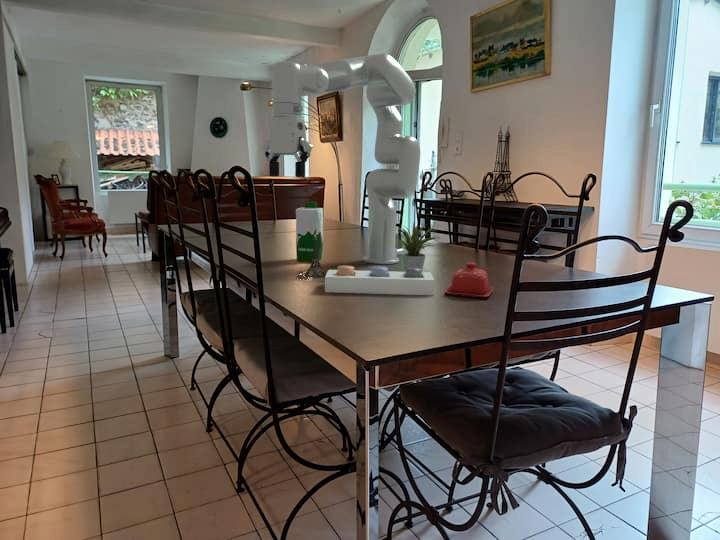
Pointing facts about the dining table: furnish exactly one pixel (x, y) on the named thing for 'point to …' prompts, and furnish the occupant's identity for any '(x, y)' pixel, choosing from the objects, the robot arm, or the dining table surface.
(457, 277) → the butter dish
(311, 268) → the eiffel tower figurine
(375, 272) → the slate blue button
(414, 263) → the house plant
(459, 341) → the dining table surface
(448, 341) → the dining table surface
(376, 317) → the dining table surface
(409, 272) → the charcoal button
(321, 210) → the milk carton
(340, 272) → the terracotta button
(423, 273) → the white button panel
